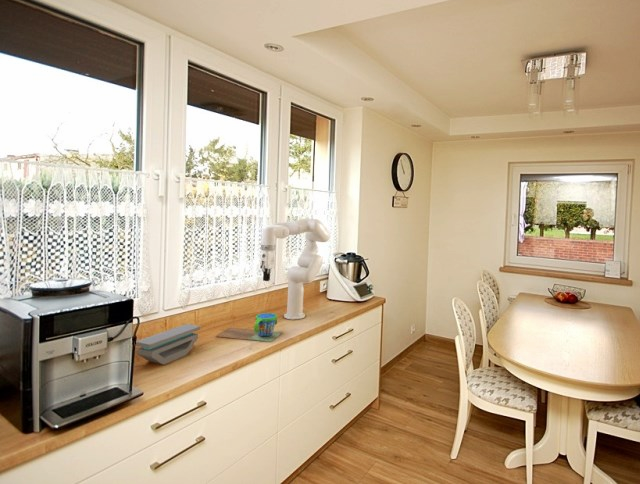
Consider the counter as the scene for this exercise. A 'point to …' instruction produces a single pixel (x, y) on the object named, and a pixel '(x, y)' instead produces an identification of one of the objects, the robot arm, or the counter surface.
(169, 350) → the sharpening stone
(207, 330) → the counter surface
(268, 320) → the snack cup
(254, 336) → the placemat
